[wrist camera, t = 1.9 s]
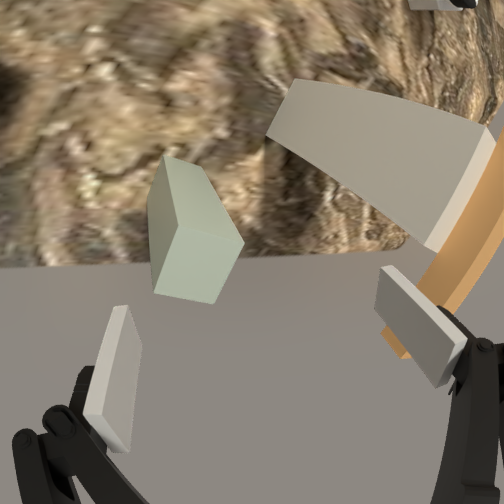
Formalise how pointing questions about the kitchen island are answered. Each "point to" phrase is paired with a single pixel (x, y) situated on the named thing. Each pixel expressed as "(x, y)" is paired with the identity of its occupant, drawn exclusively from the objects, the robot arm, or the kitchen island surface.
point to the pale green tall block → (189, 233)
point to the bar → (465, 245)
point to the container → (442, 4)
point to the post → (388, 152)
